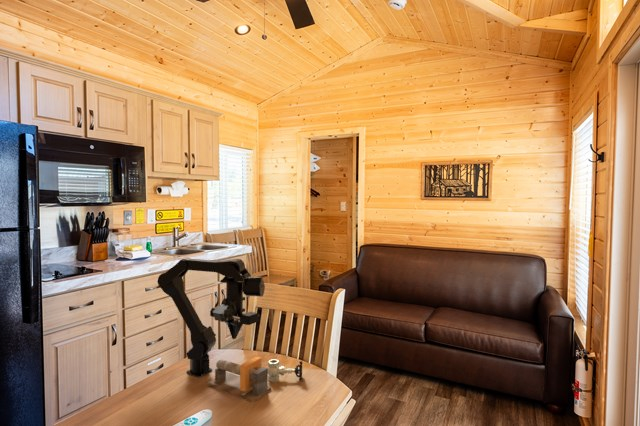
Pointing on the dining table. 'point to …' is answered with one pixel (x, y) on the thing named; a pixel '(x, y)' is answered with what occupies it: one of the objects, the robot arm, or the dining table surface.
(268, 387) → the pipe stand
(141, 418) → the dining table surface
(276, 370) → the valve
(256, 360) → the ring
